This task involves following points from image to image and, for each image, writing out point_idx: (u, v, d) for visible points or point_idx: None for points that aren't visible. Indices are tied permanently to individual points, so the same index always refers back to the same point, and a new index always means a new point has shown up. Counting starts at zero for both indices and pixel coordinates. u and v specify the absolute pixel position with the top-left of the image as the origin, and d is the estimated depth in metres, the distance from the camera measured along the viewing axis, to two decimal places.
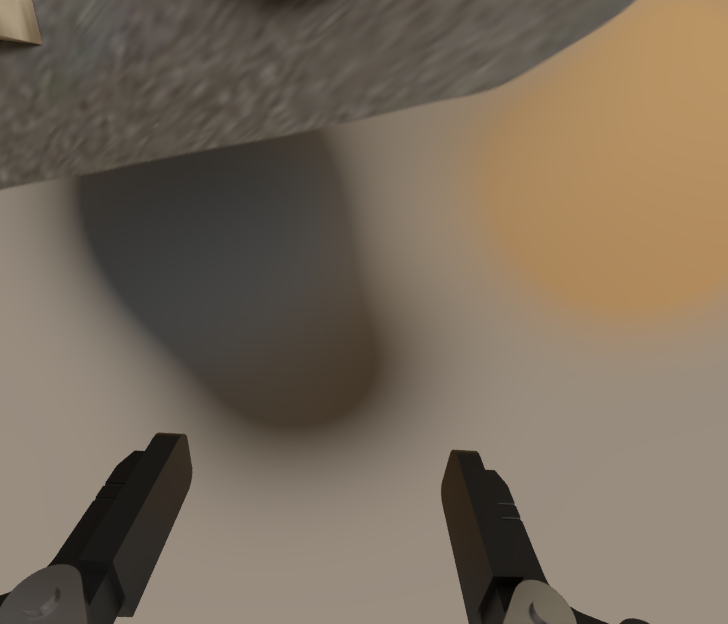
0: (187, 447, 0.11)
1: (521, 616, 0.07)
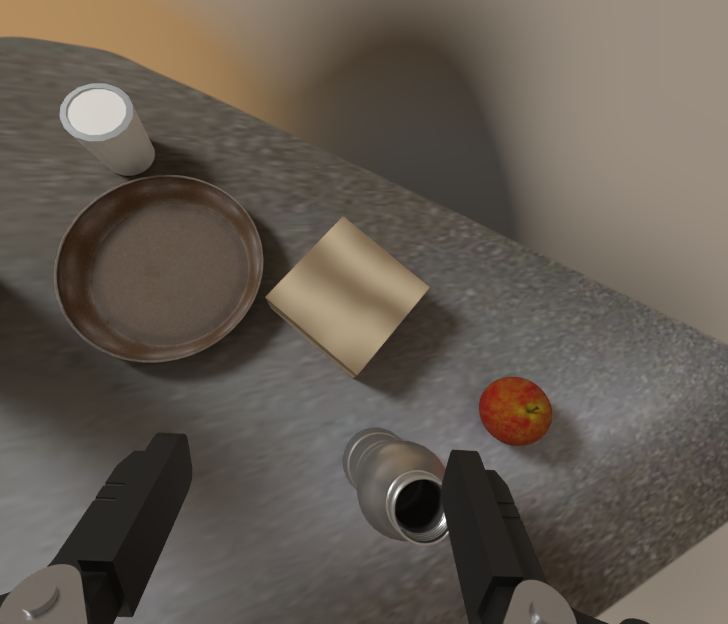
0: (187, 447, 0.11)
1: (521, 616, 0.07)
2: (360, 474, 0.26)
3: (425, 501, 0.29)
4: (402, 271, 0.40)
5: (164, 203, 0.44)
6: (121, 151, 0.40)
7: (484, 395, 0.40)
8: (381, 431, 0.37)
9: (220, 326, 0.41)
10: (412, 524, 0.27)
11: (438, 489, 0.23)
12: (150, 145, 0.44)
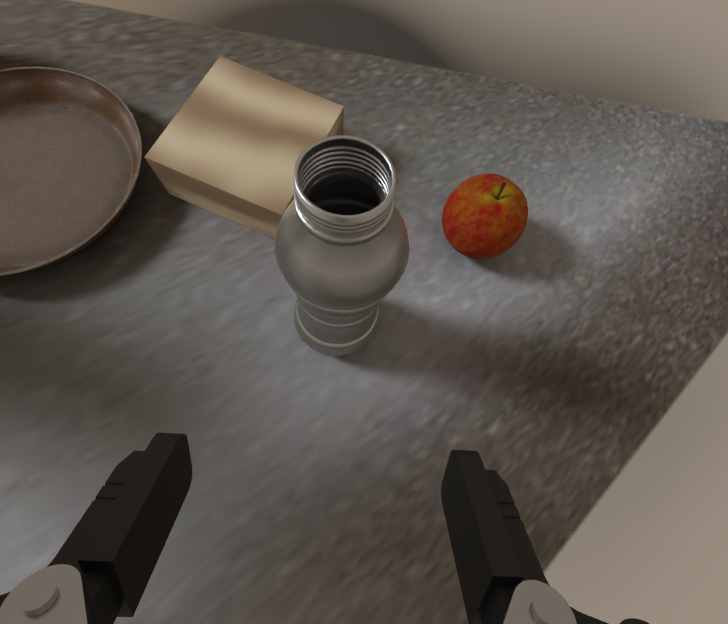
0: (187, 447, 0.11)
1: (521, 616, 0.07)
2: (275, 238, 0.18)
3: None
4: (306, 97, 0.33)
5: (10, 111, 0.36)
6: None
7: (444, 210, 0.33)
8: None
9: None
10: None
11: (371, 181, 0.16)
12: None
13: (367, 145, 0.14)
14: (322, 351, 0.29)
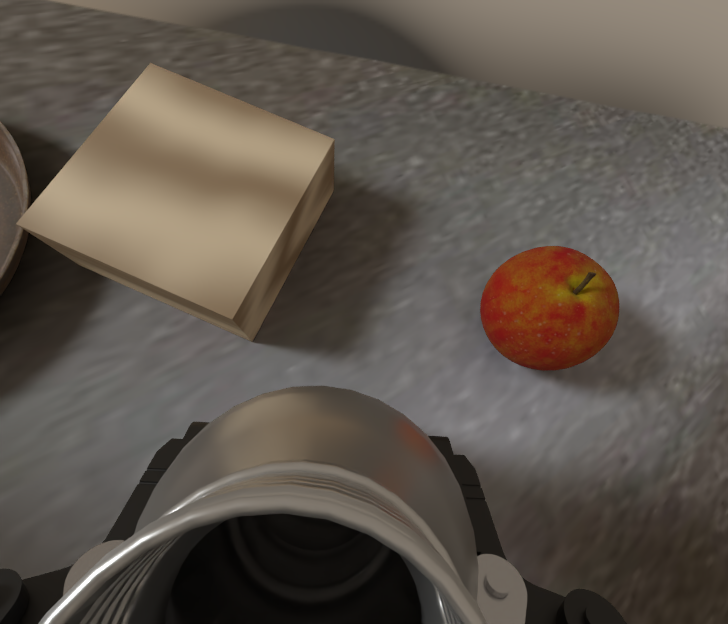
0: None
1: None
2: None
3: None
4: (278, 125, 0.22)
5: None
6: None
7: (485, 298, 0.22)
8: None
9: None
10: None
11: None
12: None
13: (378, 537, 0.03)
14: None
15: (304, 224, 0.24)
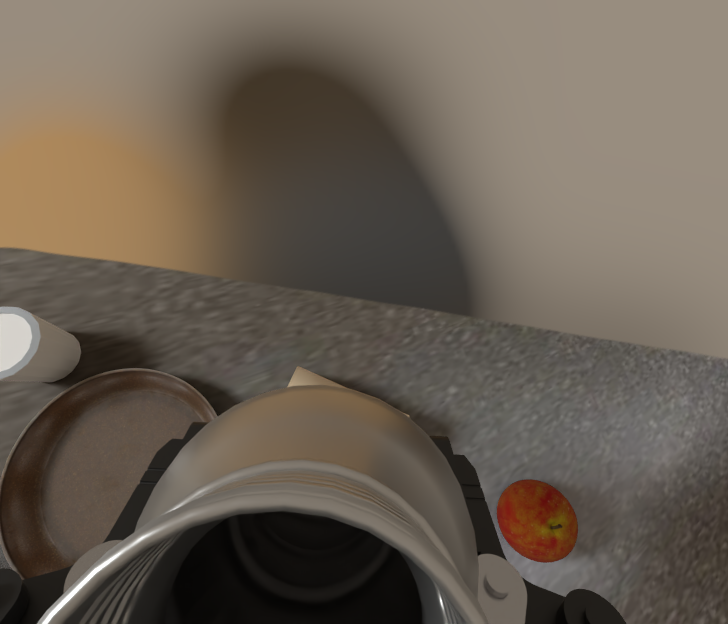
0: None
1: None
2: None
3: None
4: None
5: (104, 399, 0.40)
6: (39, 370, 0.36)
7: (500, 512, 0.36)
8: None
9: None
10: None
11: None
12: (72, 342, 0.40)
13: (379, 535, 0.03)
14: None
15: None
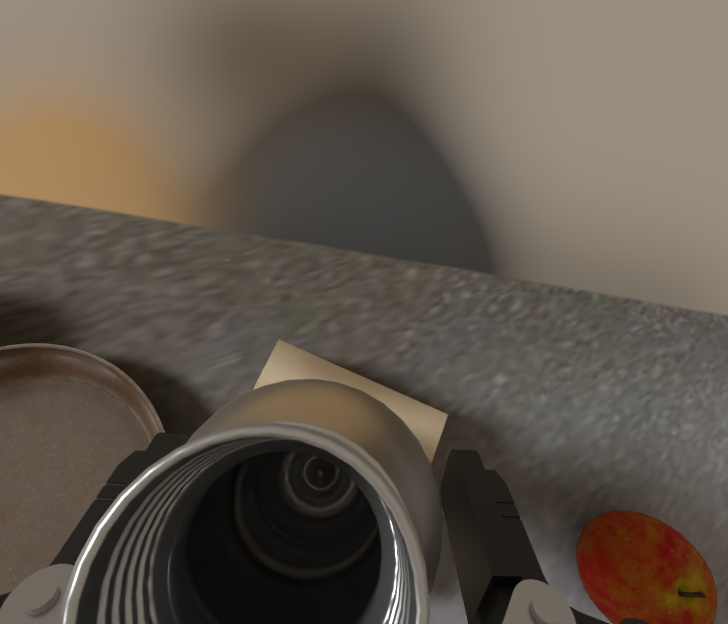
0: None
1: (520, 616, 0.07)
2: None
3: None
4: (397, 401, 0.24)
5: None
6: None
7: (586, 563, 0.24)
8: None
9: None
10: None
11: (354, 477, 0.06)
12: None
13: (334, 454, 0.04)
14: None
15: None
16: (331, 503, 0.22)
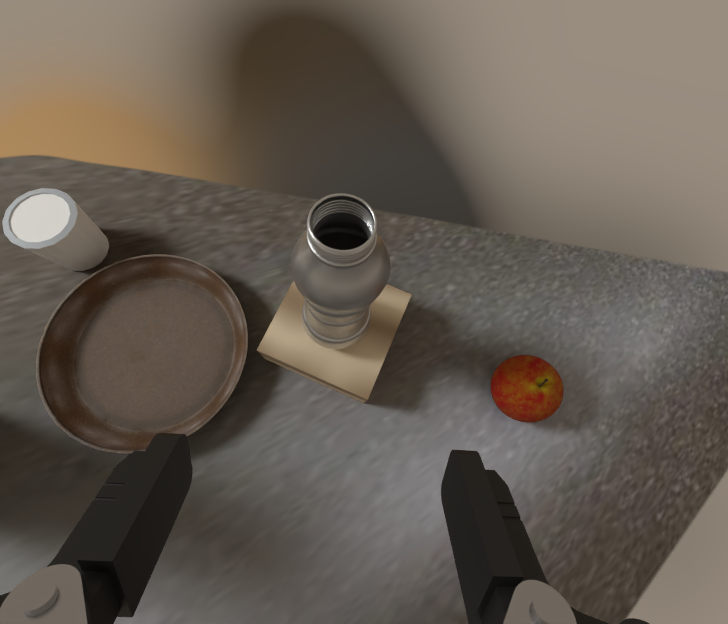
0: (187, 447, 0.11)
1: (521, 616, 0.07)
2: (291, 259, 0.25)
3: None
4: None
5: (131, 286, 0.43)
6: (75, 248, 0.39)
7: (493, 382, 0.40)
8: None
9: (219, 391, 0.40)
10: None
11: (361, 222, 0.22)
12: (102, 234, 0.43)
13: (357, 200, 0.20)
14: (324, 345, 0.35)
15: None
16: None
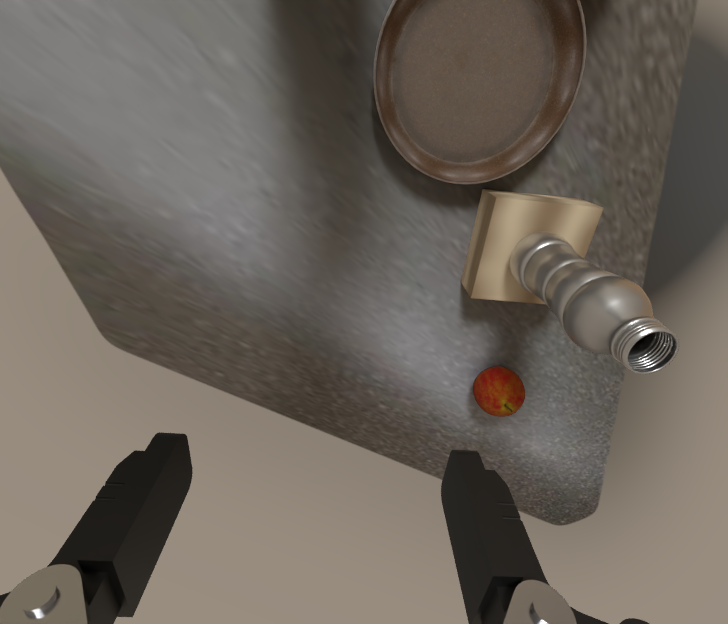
0: (187, 447, 0.11)
1: (521, 616, 0.07)
2: (609, 282, 0.29)
3: None
4: None
5: (540, 6, 0.37)
6: None
7: (499, 371, 0.53)
8: None
9: (446, 162, 0.43)
10: None
11: (650, 347, 0.28)
12: None
13: (672, 356, 0.26)
14: (514, 263, 0.41)
15: None
16: None
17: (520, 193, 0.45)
